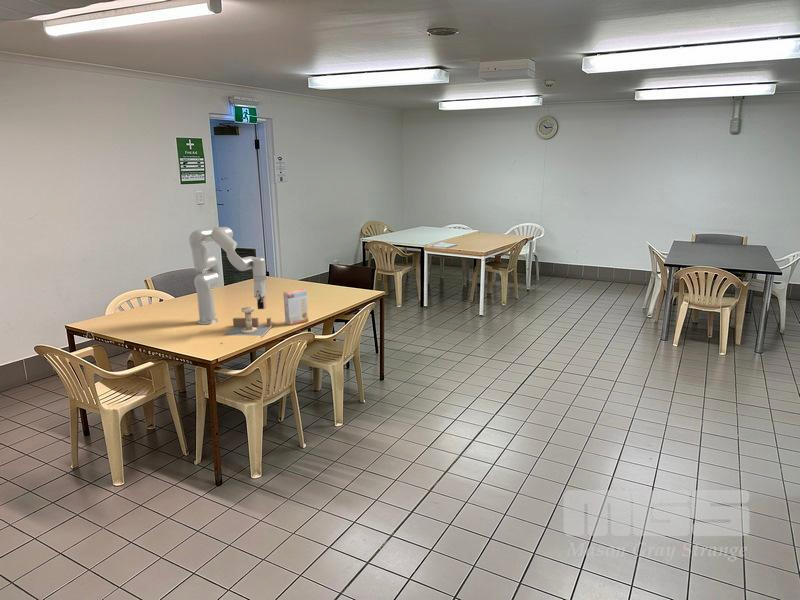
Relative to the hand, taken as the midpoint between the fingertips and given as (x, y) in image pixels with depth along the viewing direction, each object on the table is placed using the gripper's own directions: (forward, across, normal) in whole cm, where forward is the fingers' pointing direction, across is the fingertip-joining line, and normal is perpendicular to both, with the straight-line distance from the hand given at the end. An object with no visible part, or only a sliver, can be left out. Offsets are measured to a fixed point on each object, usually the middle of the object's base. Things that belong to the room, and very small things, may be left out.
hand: (261, 307), depth 330 cm
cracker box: (+14, -13, +18) cm, 26 cm away
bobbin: (+12, +11, -5) cm, 17 cm away
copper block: (+1, 0, 0) cm, 1 cm away
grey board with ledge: (+13, +9, -7) cm, 17 cm away
